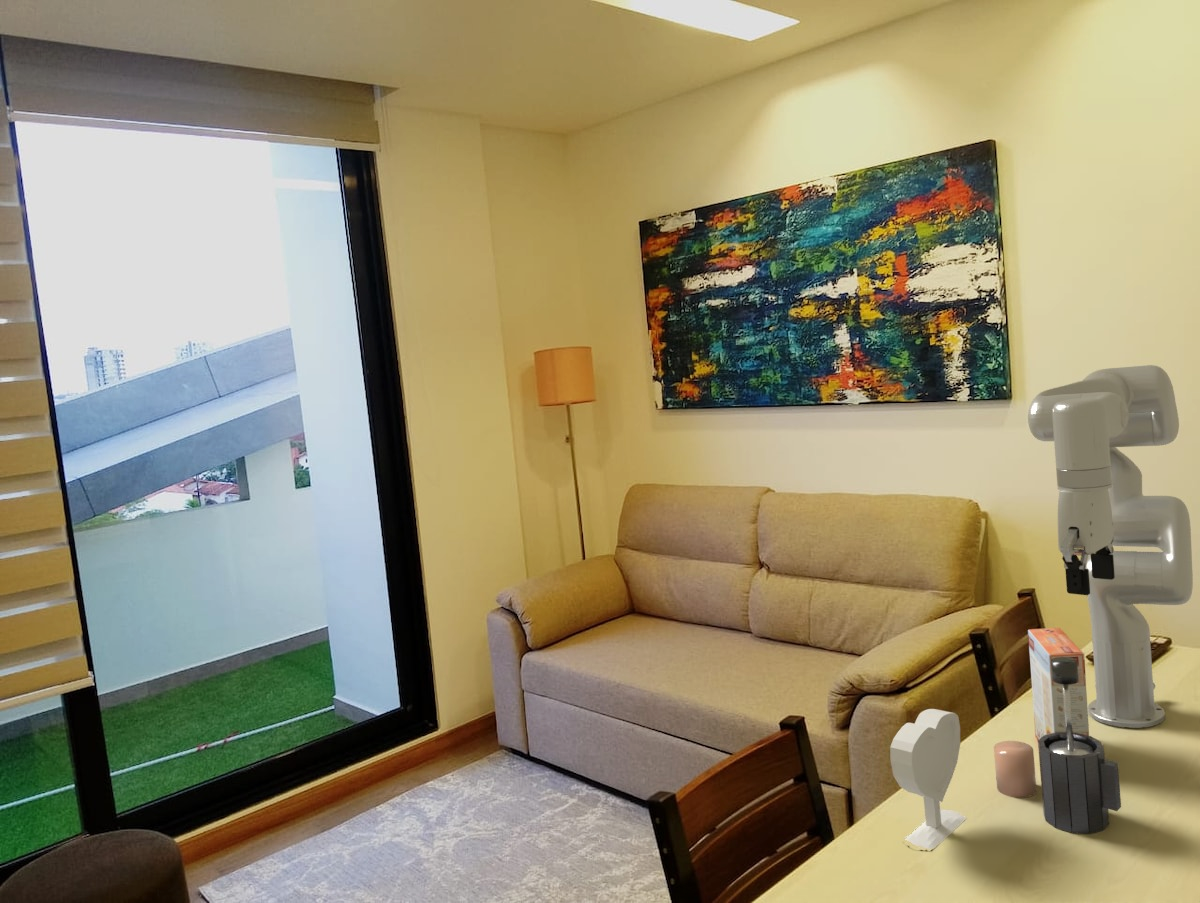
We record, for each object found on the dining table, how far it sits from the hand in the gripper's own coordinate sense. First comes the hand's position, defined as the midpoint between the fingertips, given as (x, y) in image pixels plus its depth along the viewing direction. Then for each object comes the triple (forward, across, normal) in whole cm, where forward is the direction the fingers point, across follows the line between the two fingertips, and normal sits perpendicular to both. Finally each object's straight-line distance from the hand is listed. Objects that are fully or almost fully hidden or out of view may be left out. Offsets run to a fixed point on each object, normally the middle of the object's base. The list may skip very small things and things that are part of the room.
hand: (1091, 586), depth 145 cm
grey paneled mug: (+35, +9, -1) cm, 36 cm away
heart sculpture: (+35, +24, -16) cm, 46 cm away
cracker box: (+34, -11, -11) cm, 38 cm away
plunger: (+24, +9, -1) cm, 26 cm away
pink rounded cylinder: (+35, +5, -12) cm, 37 cm away
